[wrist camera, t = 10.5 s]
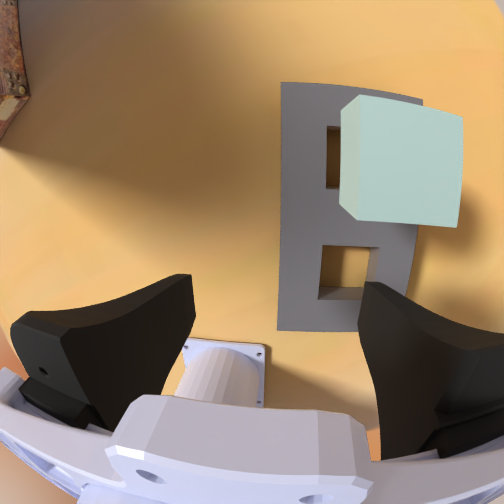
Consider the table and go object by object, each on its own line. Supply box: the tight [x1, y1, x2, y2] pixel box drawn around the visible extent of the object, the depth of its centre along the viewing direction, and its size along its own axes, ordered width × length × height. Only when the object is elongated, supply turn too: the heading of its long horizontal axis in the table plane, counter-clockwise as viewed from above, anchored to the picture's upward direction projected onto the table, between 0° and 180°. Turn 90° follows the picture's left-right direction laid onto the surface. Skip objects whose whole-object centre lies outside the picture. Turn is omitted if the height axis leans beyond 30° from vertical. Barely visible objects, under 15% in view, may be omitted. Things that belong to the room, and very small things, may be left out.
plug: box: [339, 94, 463, 228], centre depth 11 cm, size 4×4×6 cm
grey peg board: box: [277, 82, 423, 332], centre depth 19 cm, size 18×10×2 cm, turn 1°
